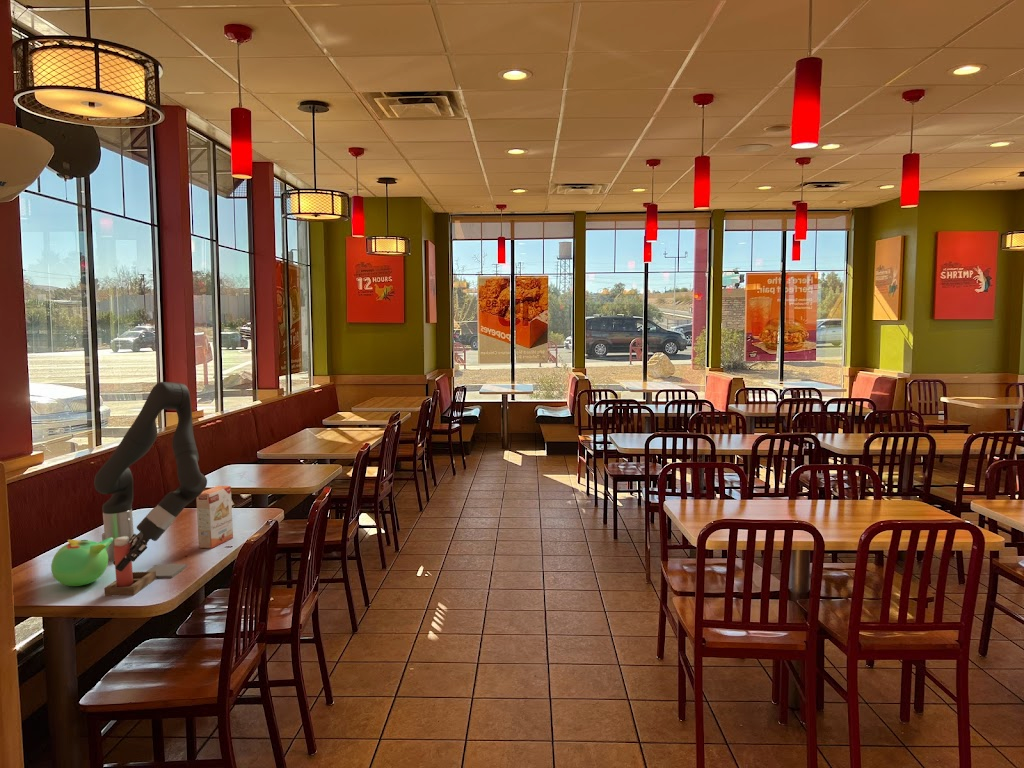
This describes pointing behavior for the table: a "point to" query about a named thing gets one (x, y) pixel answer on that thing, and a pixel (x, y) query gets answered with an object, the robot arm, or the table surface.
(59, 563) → the toy bird
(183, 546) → the table surface
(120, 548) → the pepper mill
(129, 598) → the table surface
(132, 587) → the caddy
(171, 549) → the table surface
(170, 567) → the slate tile
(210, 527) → the cracker box
